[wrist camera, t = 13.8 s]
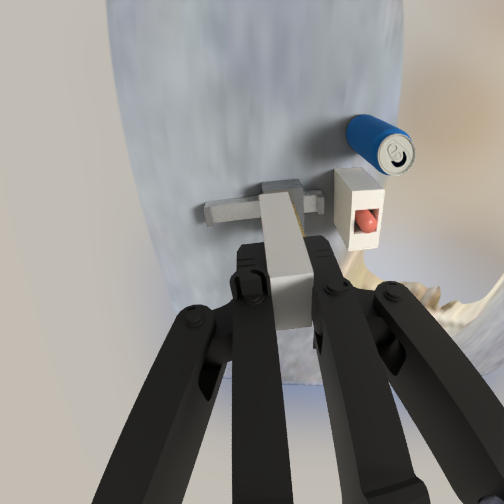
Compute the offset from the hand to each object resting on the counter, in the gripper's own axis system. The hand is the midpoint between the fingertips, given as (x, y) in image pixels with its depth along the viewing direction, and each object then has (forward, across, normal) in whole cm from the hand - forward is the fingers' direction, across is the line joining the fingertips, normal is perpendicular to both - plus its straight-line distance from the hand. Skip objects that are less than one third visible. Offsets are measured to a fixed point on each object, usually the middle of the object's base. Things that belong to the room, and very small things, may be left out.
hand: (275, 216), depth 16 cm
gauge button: (+28, +14, -14) cm, 35 cm away
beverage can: (+31, +17, -3) cm, 35 cm away
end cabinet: (+30, +14, -14) cm, 36 cm away
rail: (+30, 0, -14) cm, 33 cm away
